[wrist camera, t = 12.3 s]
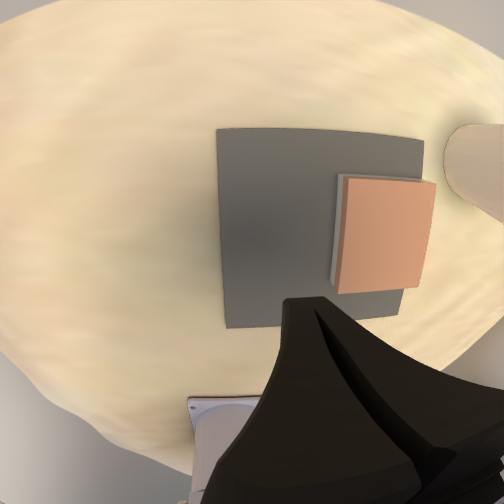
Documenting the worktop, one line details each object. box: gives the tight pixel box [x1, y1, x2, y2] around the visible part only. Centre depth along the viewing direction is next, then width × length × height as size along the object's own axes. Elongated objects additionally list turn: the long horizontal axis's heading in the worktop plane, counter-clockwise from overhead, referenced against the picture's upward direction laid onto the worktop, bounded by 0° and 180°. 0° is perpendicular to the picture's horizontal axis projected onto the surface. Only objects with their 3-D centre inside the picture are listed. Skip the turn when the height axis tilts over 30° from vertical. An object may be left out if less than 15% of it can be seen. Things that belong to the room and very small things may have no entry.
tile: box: [330, 174, 436, 294], centre depth 18 cm, size 7×2×6 cm
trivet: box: [217, 128, 424, 328], centre depth 19 cm, size 13×13×1 cm
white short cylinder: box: [443, 124, 504, 224], centre depth 14 cm, size 7×7×7 cm
